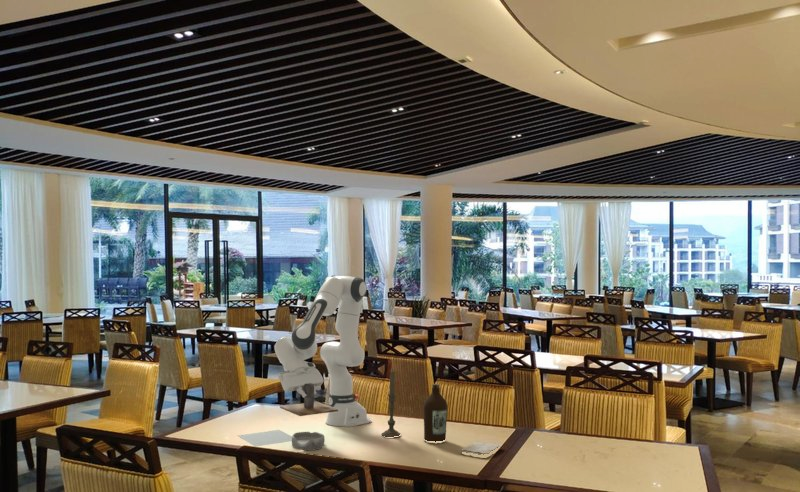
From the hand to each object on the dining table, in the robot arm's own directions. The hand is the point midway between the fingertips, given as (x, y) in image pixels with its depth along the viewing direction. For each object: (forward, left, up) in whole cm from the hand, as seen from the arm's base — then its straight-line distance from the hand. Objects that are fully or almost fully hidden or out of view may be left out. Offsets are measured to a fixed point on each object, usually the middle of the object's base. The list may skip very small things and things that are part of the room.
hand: (310, 395), depth 280 cm
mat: (+10, -20, -21) cm, 31 cm away
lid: (0, -1, -6) cm, 6 cm away
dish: (0, -1, -22) cm, 22 cm away
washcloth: (-58, +44, -22) cm, 76 cm away
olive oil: (-51, +21, -21) cm, 59 cm away
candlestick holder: (-40, +3, -21) cm, 45 cm away
